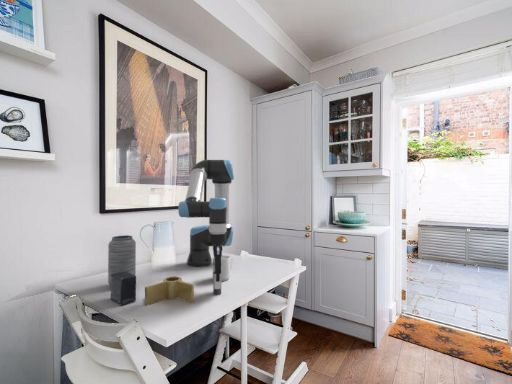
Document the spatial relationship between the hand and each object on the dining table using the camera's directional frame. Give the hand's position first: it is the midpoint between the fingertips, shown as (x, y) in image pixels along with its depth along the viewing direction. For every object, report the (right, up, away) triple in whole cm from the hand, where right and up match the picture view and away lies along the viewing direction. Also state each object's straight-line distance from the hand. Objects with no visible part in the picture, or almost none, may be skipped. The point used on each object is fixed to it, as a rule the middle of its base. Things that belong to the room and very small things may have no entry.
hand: (217, 285), depth 118 cm
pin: (0, -3, 0) cm, 3 cm away
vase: (-47, -3, +10) cm, 48 cm away
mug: (0, -4, +21) cm, 22 cm away
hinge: (-18, -3, -5) cm, 19 cm away
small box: (-37, -3, -8) cm, 38 cm away
